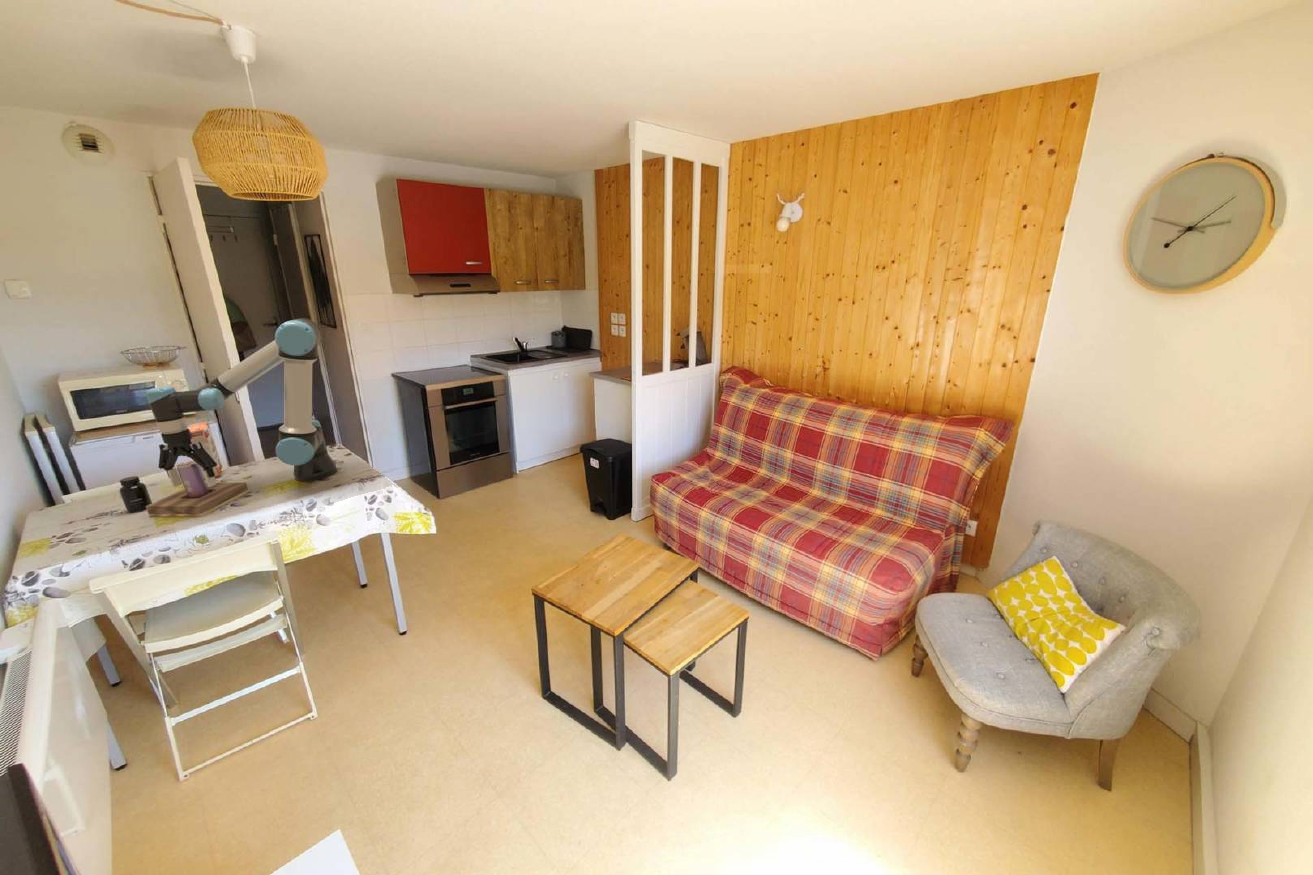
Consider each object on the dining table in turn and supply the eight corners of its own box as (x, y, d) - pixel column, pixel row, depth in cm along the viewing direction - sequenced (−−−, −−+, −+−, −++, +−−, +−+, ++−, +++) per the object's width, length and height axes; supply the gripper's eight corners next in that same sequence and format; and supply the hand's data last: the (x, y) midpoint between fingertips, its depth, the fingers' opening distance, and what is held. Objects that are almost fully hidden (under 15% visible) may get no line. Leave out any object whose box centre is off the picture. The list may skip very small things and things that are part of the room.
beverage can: (215, 497, 189) (202, 460, 184) (200, 504, 183) (186, 466, 178) (201, 497, 189) (187, 460, 184) (186, 504, 184) (171, 466, 179)
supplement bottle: (137, 513, 180) (124, 483, 176) (122, 512, 182) (109, 482, 178) (158, 504, 187) (146, 475, 183) (144, 503, 188) (131, 474, 184)
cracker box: (221, 476, 212) (204, 429, 205) (202, 479, 208) (185, 432, 201) (223, 466, 222) (208, 421, 215) (206, 469, 219) (189, 424, 212)
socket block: (249, 491, 195) (246, 482, 194) (202, 516, 176) (198, 506, 175) (201, 491, 197) (197, 482, 195) (149, 516, 178) (145, 506, 176)
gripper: (217, 426, 180) (235, 480, 187) (152, 427, 181) (173, 481, 188) (198, 433, 173) (218, 489, 180) (131, 434, 174) (153, 490, 181)
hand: (195, 485), depth 184 cm, fingers open, 13 cm apart
